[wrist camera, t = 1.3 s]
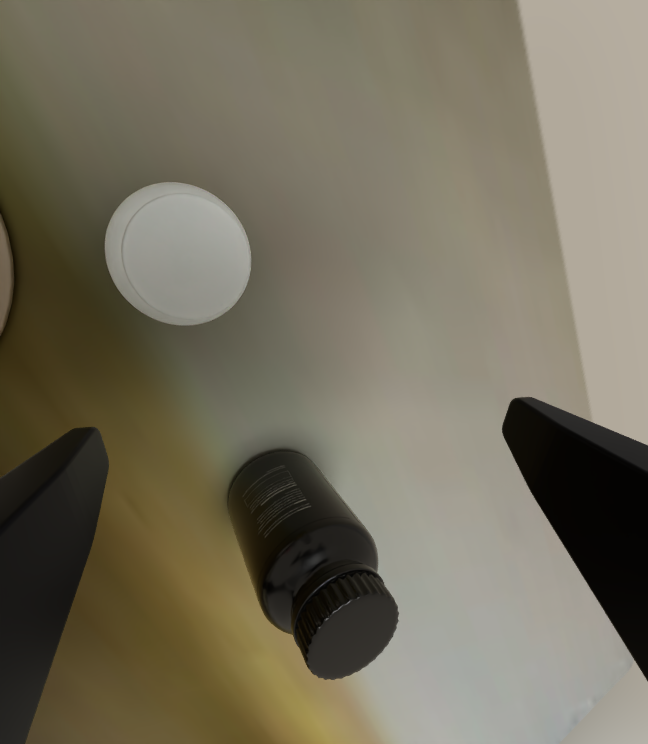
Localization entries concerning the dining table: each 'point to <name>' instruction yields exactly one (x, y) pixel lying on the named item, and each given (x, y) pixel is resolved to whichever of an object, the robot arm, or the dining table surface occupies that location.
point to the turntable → (5, 275)
